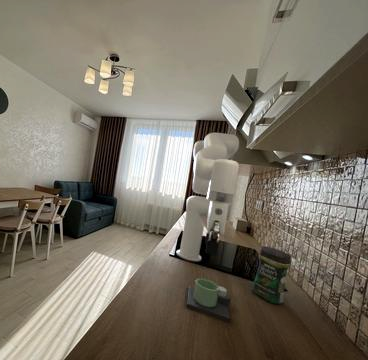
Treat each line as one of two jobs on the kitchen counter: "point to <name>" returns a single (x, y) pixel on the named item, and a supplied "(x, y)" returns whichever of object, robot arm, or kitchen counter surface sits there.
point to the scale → (216, 311)
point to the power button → (222, 291)
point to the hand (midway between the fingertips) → (209, 249)
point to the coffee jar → (271, 274)
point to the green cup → (206, 292)
